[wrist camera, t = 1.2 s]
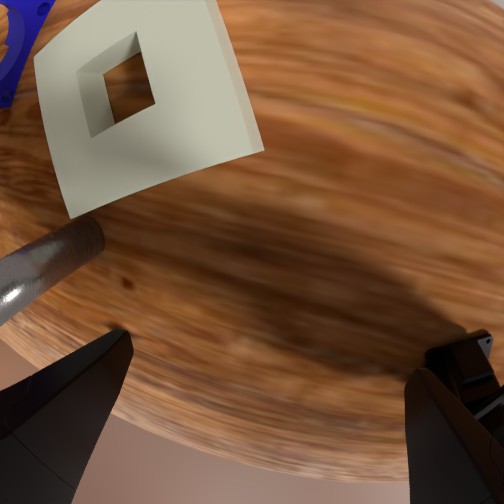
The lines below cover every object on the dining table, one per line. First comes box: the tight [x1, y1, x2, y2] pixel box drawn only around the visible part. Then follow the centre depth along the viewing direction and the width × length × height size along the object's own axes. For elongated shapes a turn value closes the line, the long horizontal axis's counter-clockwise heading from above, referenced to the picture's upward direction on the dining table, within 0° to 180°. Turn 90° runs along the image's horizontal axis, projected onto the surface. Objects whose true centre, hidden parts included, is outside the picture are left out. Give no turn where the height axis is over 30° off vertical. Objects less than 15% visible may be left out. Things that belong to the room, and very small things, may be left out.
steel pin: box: [0, 216, 105, 326], centre depth 17 cm, size 4×4×13 cm
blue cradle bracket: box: [0, 0, 55, 108], centre depth 14 cm, size 12×4×6 cm, turn 147°
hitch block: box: [34, 0, 264, 219], centre depth 15 cm, size 14×14×3 cm
